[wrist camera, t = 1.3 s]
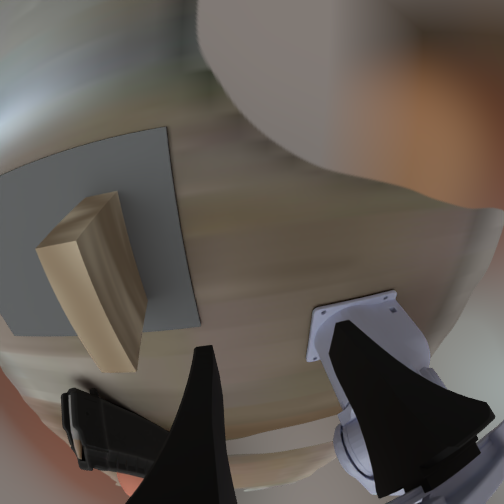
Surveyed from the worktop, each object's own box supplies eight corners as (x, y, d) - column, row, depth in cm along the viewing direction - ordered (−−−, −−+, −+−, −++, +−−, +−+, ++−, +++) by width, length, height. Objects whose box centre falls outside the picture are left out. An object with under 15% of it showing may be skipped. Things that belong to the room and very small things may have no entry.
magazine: (221, 493, 34) (95, 522, 11) (206, 495, 34) (77, 517, 11) (199, 414, 45) (74, 376, 23) (185, 418, 45) (59, 380, 23)
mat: (166, 126, 15) (165, 126, 14) (200, 324, 23) (200, 326, 23) (-46, 199, 12) (-47, 200, 12) (15, 333, 20) (14, 335, 20)
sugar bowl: (116, 456, 40) (116, 496, 31) (178, 465, 44) (182, 504, 35) (117, 467, 44) (117, 500, 36) (171, 475, 49) (173, 508, 40)
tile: (117, 190, 16) (75, 240, 10) (147, 300, 20) (136, 372, 14) (84, 197, 15) (35, 248, 9) (119, 303, 20) (101, 372, 14)
